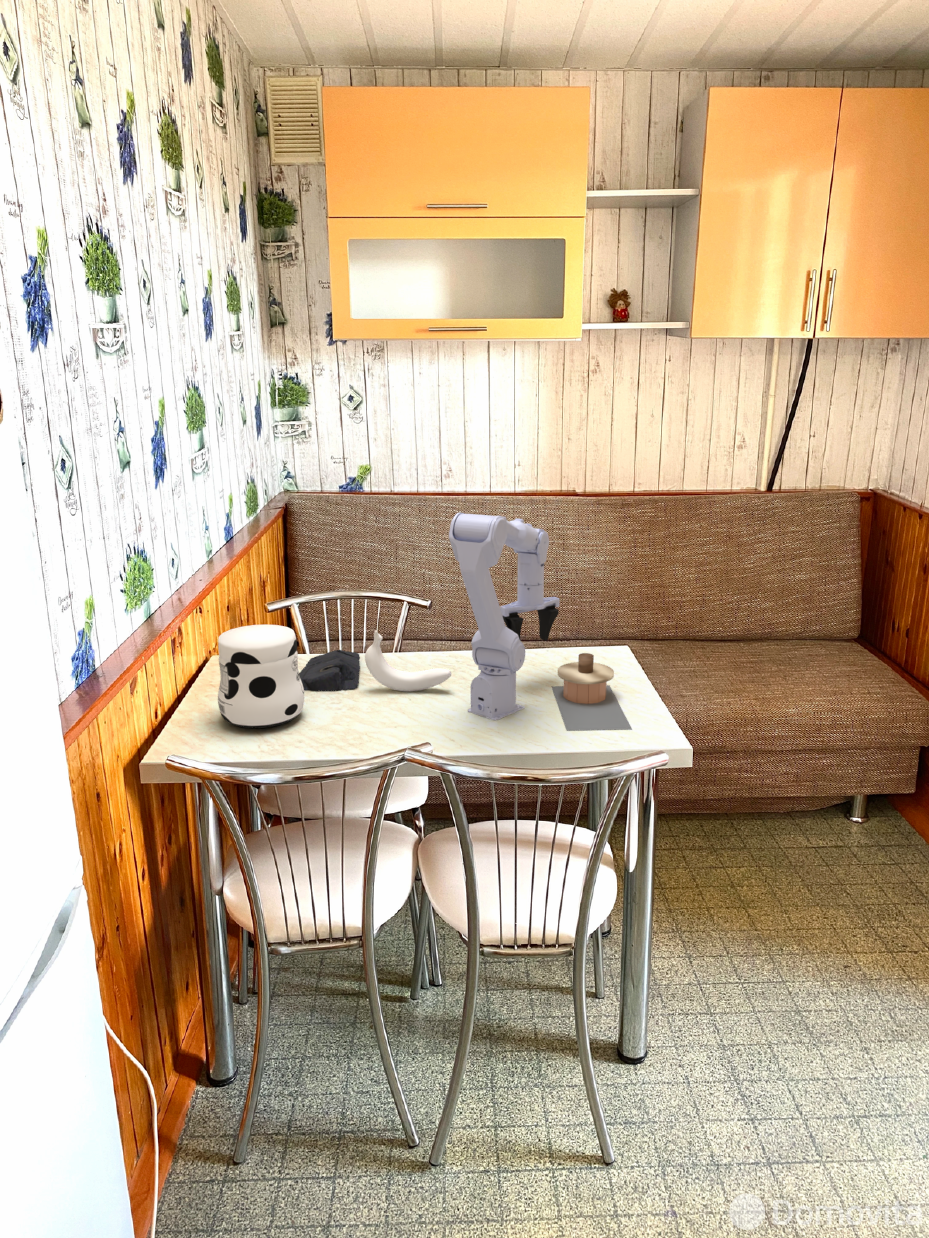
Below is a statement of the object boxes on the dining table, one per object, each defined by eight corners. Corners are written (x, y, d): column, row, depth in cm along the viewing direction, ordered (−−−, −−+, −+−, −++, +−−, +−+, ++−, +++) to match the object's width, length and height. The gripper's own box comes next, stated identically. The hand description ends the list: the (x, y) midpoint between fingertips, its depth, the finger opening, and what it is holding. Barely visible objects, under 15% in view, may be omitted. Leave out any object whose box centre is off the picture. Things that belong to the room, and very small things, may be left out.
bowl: (589, 706, 195) (590, 684, 193) (555, 696, 201) (555, 674, 199) (614, 695, 201) (614, 673, 200) (580, 685, 207) (580, 664, 206)
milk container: (320, 708, 196) (316, 627, 191) (277, 740, 181) (271, 652, 176) (249, 699, 202) (243, 619, 197) (202, 728, 186) (194, 643, 181)
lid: (592, 688, 191) (592, 668, 190) (546, 675, 199) (546, 656, 198) (624, 673, 200) (625, 654, 198) (579, 661, 207) (579, 643, 206)
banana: (451, 694, 203) (450, 631, 199) (365, 695, 203) (362, 631, 199) (452, 687, 208) (451, 624, 204) (367, 687, 208) (364, 625, 204)
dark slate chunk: (369, 661, 227) (369, 643, 226) (356, 693, 206) (355, 673, 204) (307, 661, 227) (306, 642, 226) (288, 693, 206) (286, 673, 205)
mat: (632, 731, 183) (632, 729, 183) (566, 732, 183) (566, 730, 183) (609, 686, 207) (609, 685, 207) (551, 687, 207) (551, 686, 207)
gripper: (513, 591, 194) (513, 652, 198) (568, 581, 201) (567, 641, 205) (494, 584, 200) (494, 644, 204) (549, 575, 207) (548, 633, 211)
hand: (529, 642), depth 205 cm, fingers open, 7 cm apart
